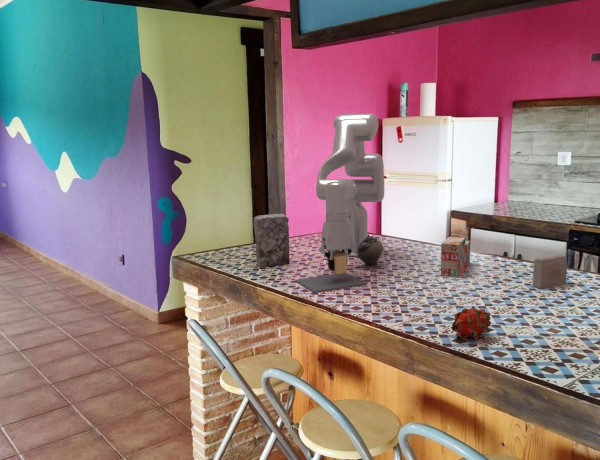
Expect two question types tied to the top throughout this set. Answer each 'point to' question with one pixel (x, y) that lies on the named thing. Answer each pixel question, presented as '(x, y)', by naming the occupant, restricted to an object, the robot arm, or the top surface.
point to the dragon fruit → (471, 323)
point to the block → (340, 262)
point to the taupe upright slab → (549, 272)
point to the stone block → (271, 239)
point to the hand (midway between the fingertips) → (337, 268)
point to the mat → (330, 282)
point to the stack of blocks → (454, 256)
